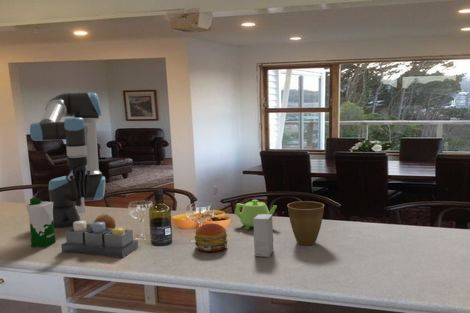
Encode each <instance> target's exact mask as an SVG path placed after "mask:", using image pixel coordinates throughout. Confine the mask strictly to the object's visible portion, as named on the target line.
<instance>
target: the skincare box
mask: <svg viewBox="0 0 470 313" xmlns="http://www.w3.org/2000/svg"><path fill="white" fill-rule="evenodd" d="M253 225H254V227H253V250H254V256H255V257H263V258H270V256H271V255H272V253H273V252H274V226H273V225H274V224H273V215H272V214H258V215H257V216H256V217H255V218H254V219H253Z"/></svg>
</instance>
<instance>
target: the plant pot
mask: <svg viewBox="0 0 470 313" xmlns="http://www.w3.org/2000/svg"><path fill="white" fill-rule="evenodd" d="M287 210H288V217H289V222H290V227H291V229H292V233H293V235H294V238H295V241H296V244H298V245H300V246H313V245H315V244H316V242H317V239H318V236H319V233H320V230H321V226H322V223H323V217H324V210H325V204H324V203H321V202H317V201H309V200H308V201H307V200H306V201H305V200H304V201H302V200H301V201H292V202H290V203H288V204H287Z"/></svg>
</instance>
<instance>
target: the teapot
mask: <svg viewBox="0 0 470 313" xmlns="http://www.w3.org/2000/svg"><path fill="white" fill-rule="evenodd" d="M277 207H278V206H277V205H272V207H271V209H270V210H269V207H268V206H267V204H266V203H265V202H263V201H259V200H258V199H252V200H251V201H247V202H246V203H238V202H237V203H236V205H235V209H234V214H235V215H236V216H237V217H238V218H239V219H240V222H241V224H242V225H243V226H245V227H244V229H247V230H249V229H251V227H253V228H254V225H253V219H254V218H255V217H256V216H257V215H258V214H272V216H273V215H274V214H275V211H276V209H277ZM241 208H242V209H241ZM240 209H241V211H240Z"/></svg>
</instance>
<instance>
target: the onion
mask: <svg viewBox="0 0 470 313" xmlns="http://www.w3.org/2000/svg"><path fill="white" fill-rule="evenodd" d="M95 222H105V228H113V229H114V228H116V227H117V226H116V221H115V219H114V217H113V216H111V215H110V214H108V213H104V212H103V213H101V214H99V215H98V216H97V217H96V218H95V219H94V221H93V223H95Z"/></svg>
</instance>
